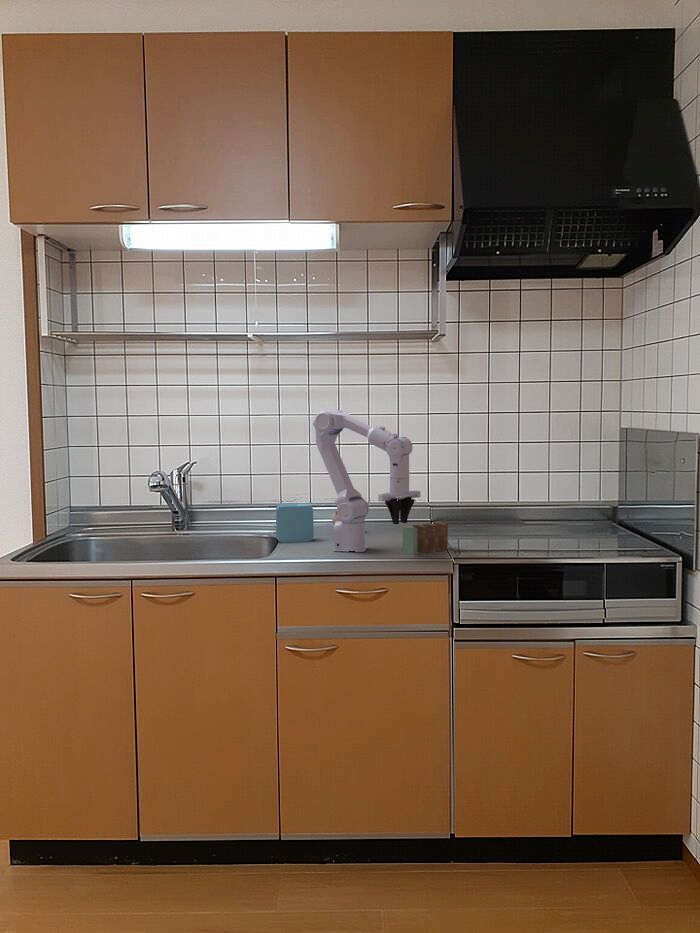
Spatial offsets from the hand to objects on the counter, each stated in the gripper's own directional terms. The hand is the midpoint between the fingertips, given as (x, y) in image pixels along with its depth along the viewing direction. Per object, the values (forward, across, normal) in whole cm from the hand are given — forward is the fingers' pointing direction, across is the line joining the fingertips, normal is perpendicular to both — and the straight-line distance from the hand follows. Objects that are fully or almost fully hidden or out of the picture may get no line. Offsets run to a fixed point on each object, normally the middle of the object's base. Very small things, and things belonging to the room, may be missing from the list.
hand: (399, 523), depth 237 cm
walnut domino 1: (+10, +8, 0) cm, 12 cm away
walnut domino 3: (+10, +16, 0) cm, 18 cm away
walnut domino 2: (+10, +12, 0) cm, 15 cm away
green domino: (+10, +4, 0) cm, 10 cm away
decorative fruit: (+10, +8, +40) cm, 42 cm away
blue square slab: (+10, -13, +39) cm, 42 cm away
